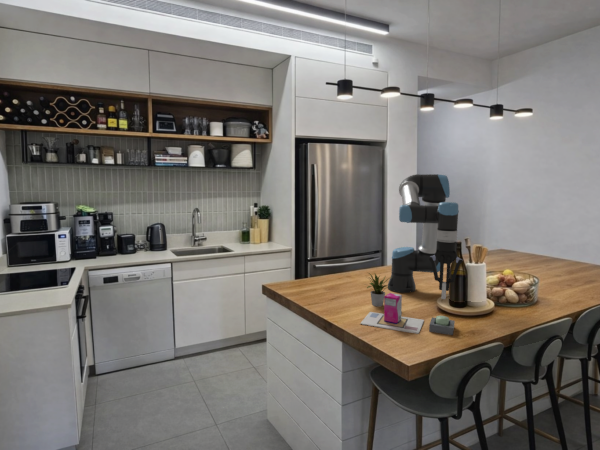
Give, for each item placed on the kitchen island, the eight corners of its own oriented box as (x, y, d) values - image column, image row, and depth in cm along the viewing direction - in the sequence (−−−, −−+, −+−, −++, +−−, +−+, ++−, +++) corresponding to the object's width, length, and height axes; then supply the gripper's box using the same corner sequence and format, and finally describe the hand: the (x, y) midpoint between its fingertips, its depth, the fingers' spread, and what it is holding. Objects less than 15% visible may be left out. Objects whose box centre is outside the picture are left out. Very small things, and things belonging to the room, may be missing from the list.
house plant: (354, 303, 197) (355, 271, 195) (372, 298, 206) (373, 267, 204) (377, 311, 187) (378, 277, 185) (395, 305, 195) (396, 272, 193)
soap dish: (431, 324, 171) (432, 317, 170) (454, 327, 167) (454, 320, 167) (429, 331, 163) (429, 324, 162) (452, 335, 159) (453, 328, 159)
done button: (436, 324, 168) (436, 315, 167) (448, 326, 166) (449, 316, 165) (434, 328, 163) (435, 318, 163) (447, 330, 161) (448, 320, 161)
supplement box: (388, 317, 176) (389, 292, 175) (401, 320, 173) (402, 294, 171) (383, 321, 172) (384, 295, 170) (396, 324, 168) (397, 298, 167)
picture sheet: (369, 312, 184) (370, 311, 184) (424, 320, 174) (424, 319, 174) (360, 324, 170) (360, 322, 170) (418, 333, 160) (418, 332, 160)
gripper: (428, 240, 160) (425, 298, 162) (463, 243, 154) (460, 302, 157) (430, 238, 166) (428, 293, 169) (464, 240, 161) (461, 297, 164)
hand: (443, 298), depth 163 cm, fingers closed
